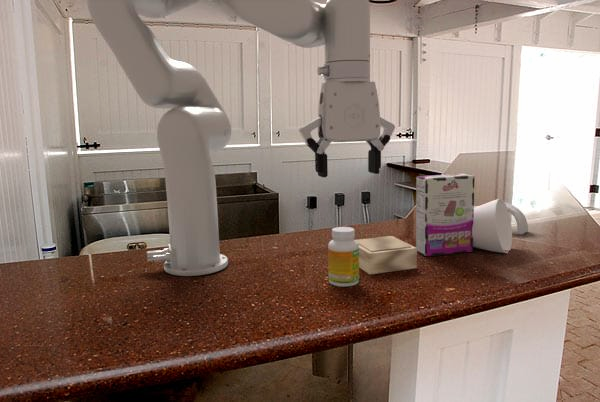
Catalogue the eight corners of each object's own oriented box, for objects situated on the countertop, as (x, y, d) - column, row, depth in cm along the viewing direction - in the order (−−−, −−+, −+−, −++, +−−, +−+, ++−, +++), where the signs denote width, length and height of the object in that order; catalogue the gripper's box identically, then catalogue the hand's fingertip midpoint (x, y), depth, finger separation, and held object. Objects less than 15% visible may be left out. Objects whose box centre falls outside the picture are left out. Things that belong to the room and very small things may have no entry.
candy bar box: (460, 246, 107) (463, 172, 104) (473, 252, 102) (476, 175, 99) (413, 250, 104) (415, 175, 102) (424, 256, 100) (426, 178, 97)
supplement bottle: (357, 288, 83) (357, 233, 81) (326, 286, 84) (325, 232, 83) (360, 277, 88) (360, 226, 87) (330, 276, 89) (330, 225, 88)
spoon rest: (425, 225, 129) (425, 198, 127) (445, 217, 137) (446, 192, 136) (516, 239, 113) (518, 209, 111) (533, 229, 121) (535, 201, 120)
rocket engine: (416, 199, 112) (496, 188, 101) (435, 224, 119) (512, 215, 108) (410, 243, 106) (494, 236, 95) (431, 266, 113) (511, 262, 102)
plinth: (369, 274, 90) (369, 252, 89) (348, 259, 99) (347, 239, 99) (416, 268, 93) (417, 247, 92) (391, 254, 102) (391, 234, 102)
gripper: (305, 72, 76) (308, 180, 79) (404, 72, 80) (403, 174, 84) (292, 76, 83) (295, 175, 86) (384, 75, 88) (383, 169, 91)
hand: (348, 174), depth 85 cm, fingers open, 9 cm apart
